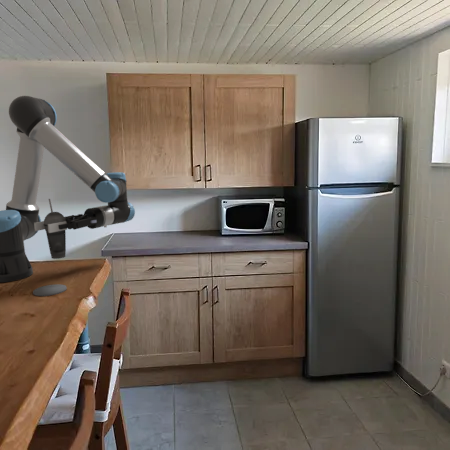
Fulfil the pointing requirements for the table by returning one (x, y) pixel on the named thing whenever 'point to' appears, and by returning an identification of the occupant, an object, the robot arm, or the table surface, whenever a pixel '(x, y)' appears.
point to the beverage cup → (55, 235)
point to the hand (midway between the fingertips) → (41, 227)
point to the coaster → (49, 290)
